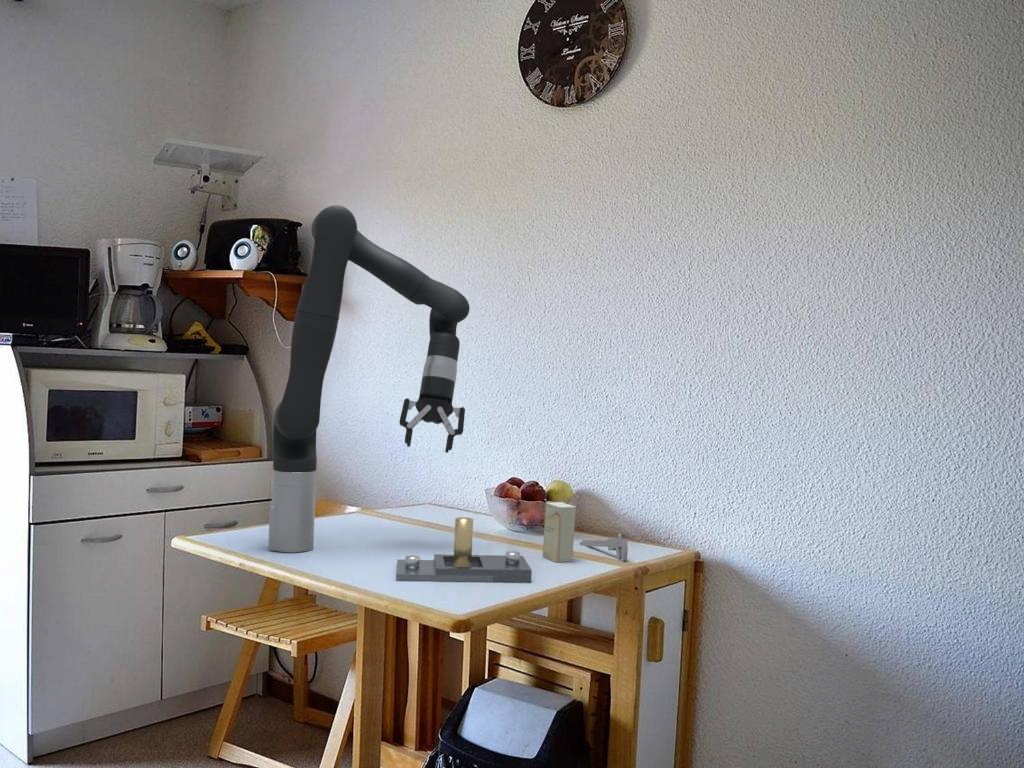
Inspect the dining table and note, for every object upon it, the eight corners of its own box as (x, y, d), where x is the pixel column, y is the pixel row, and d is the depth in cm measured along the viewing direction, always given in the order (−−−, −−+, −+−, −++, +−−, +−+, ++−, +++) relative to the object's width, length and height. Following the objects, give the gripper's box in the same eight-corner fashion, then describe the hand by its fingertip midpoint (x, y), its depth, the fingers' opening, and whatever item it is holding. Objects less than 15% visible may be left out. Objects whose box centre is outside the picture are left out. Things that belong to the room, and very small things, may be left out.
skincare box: (541, 556, 197) (544, 502, 197) (559, 555, 199) (561, 501, 199) (556, 563, 191) (559, 506, 191) (574, 561, 194) (576, 506, 193)
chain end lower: (396, 580, 170) (397, 563, 170) (397, 565, 183) (397, 549, 183) (492, 581, 172) (493, 565, 172) (486, 566, 185) (487, 551, 185)
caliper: (627, 563, 196) (628, 534, 196) (623, 563, 195) (624, 534, 195) (583, 544, 214) (584, 518, 214) (579, 544, 214) (580, 519, 214)
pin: (453, 575, 176) (455, 520, 176) (452, 571, 179) (454, 517, 179) (471, 575, 176) (473, 520, 176) (470, 571, 180) (472, 517, 180)
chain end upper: (435, 581, 171) (436, 558, 171) (433, 565, 184) (434, 544, 183) (531, 582, 173) (532, 559, 173) (522, 567, 186) (523, 546, 186)
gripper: (407, 370, 196) (395, 442, 193) (471, 380, 197) (460, 451, 194) (407, 377, 204) (396, 447, 200) (469, 387, 205) (458, 456, 201)
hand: (427, 449), depth 197 cm, fingers open, 8 cm apart
